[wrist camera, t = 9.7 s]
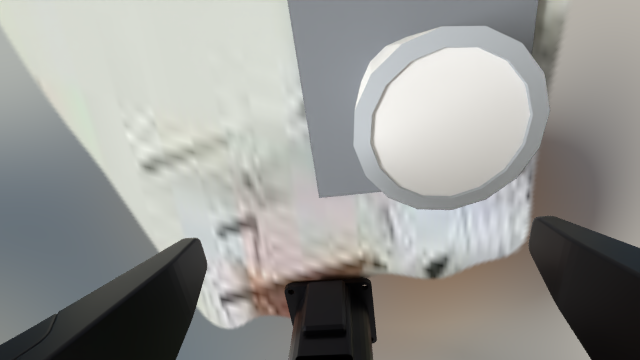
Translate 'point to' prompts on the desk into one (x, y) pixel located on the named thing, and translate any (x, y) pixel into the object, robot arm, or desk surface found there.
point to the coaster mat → (355, 55)
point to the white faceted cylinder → (449, 116)
